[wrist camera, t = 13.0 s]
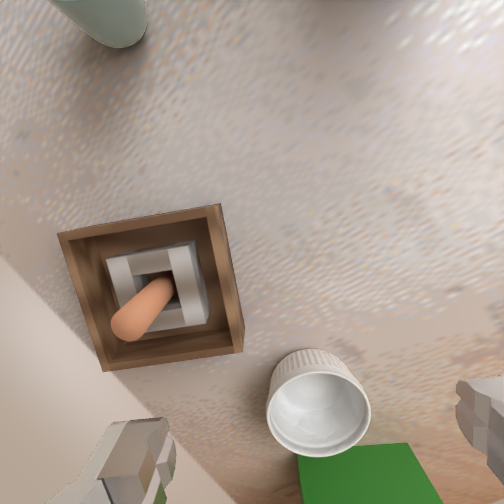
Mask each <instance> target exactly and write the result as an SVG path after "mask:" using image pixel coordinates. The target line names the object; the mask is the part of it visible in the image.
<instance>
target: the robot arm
mask: <svg viewBox="0 0 504 504" xmlns="http://www.w3.org/2000/svg"><path fill="white" fill-rule="evenodd" d="M456 393H457V394H458V395H459V396H460V397H461V400H460V401H459V402H458V404H457V405H456V406H455V407H456V419H457V422H458V425H459V427H460V429H461V431H462V433H463V434H464V436H465V438H466V439H467V440H468V442H469V443H470V444H471V445H472V447H474V448H476V449H477V450H479V451H481V452H482V453H484V454H486V459H487V465H488V466H489V468H490V469H491V470H492V471H493V472H494V474H495V475H496V476H497V477H498V479H499V480H500V481H501V482H502V484H503V485H504V374H502V375H498V376H487V377H480V378H473V379H465V380H459V381H458V383H457V384H456ZM169 428H170V427H169V424H168V421H167V418H164V417H159V418H149V419H138V420H130V421H122V422H114V423H112V424H111V425H110V426H109V427H108V428H107V430H106V431H105V433H104V435H103V436H102V438H101V440H100V441H99V443H98V445H97V446H96V448H95V450H94V451H93V453H92V455H91V456H90V458H89V459H88V461H87V463H86V465H85V466H84V468H83V470H82V471H81V473H80V474H79V476H78V478H77V479H76V481H75V482H74V483H69V484H68V485H66V486H65V487H64V488H63V489H62V490H61V491H59V492H58V493H57V494H56V495H55V496H54V497H53V498H51V499H50V500H49V501H48V502H47V503H45V504H165V503H166V499H167V498H166V495H165V491H164V489H165V488H166V486H167V485H168V484H169V482H170V481H171V480H172V478H173V474H174V470H175V463H176V449H175V443H174V440H173V439H172V438H171V437H170V436H168V435H167V434H168V431H169Z"/></svg>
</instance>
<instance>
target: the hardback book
mask: <svg viewBox="0 0 504 504" xmlns="http://www.w3.org/2000/svg"><path fill="white" fill-rule="evenodd" d="M297 463H298V476H299V487H300V494H301V501H302V504H443V502H442V500H441V499H440V497H439V495H438V494H437V492H436V490H435V489H434V487H433V485H432V484H431V482H430V480H429V478H428V477H427V475H426V473H425V472H424V470H423V468H422V467H421V465H420V463H419V462H418V460H417V458H416V457H415V455H414V453H413V452H412V450H411V448H410V446H409V445H408V443H396V444H380V445H365V446H352V447H351V448H349V449H347V450H345V451H343V452H341V453H339V454H336V455H332V456H327V457H308V456H303V455H299V454H297Z"/></svg>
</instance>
